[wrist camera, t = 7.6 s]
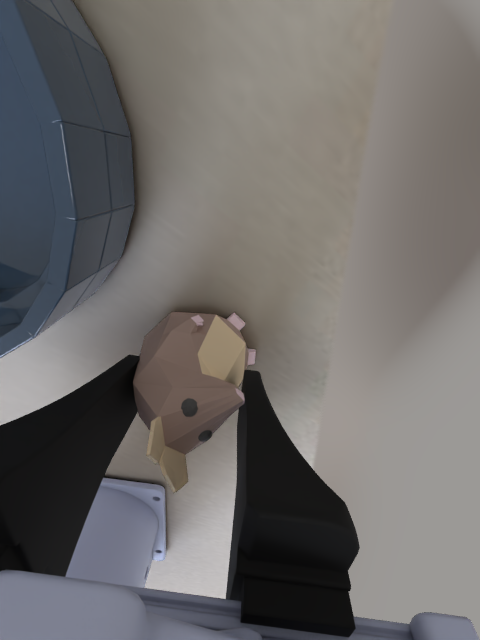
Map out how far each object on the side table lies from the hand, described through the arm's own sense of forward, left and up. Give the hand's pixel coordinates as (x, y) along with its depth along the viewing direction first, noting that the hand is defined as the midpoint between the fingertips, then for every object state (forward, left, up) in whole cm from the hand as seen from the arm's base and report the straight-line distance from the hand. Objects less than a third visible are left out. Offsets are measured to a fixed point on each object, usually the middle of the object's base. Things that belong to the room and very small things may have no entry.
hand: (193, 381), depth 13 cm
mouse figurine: (0, +1, -2) cm, 3 cm away
